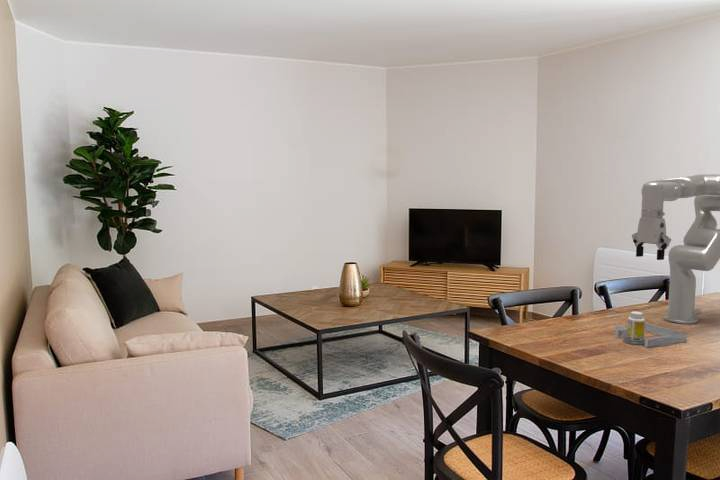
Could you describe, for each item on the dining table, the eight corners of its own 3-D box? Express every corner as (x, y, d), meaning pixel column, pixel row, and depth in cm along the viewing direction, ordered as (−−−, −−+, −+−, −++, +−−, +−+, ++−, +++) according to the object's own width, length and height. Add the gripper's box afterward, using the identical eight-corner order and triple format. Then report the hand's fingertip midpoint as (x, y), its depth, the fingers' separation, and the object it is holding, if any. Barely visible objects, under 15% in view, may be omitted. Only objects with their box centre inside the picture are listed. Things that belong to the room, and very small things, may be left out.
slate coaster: (634, 337, 216) (634, 336, 216) (652, 343, 209) (652, 342, 209) (618, 340, 213) (618, 338, 213) (635, 346, 206) (635, 344, 206)
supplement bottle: (646, 340, 211) (648, 313, 209) (638, 343, 207) (640, 315, 206) (631, 336, 215) (633, 310, 214) (623, 339, 212) (625, 312, 210)
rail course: (642, 329, 228) (643, 321, 228) (686, 341, 211) (686, 333, 210) (605, 334, 221) (605, 326, 221) (647, 347, 204) (647, 339, 203)
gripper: (678, 215, 218) (676, 260, 219) (640, 212, 233) (638, 254, 235) (664, 216, 215) (661, 261, 217) (626, 213, 231) (624, 255, 233)
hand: (649, 258), depth 226 cm, fingers open, 9 cm apart
